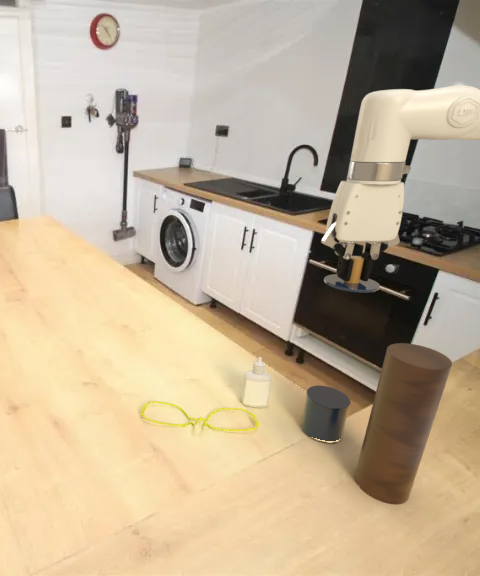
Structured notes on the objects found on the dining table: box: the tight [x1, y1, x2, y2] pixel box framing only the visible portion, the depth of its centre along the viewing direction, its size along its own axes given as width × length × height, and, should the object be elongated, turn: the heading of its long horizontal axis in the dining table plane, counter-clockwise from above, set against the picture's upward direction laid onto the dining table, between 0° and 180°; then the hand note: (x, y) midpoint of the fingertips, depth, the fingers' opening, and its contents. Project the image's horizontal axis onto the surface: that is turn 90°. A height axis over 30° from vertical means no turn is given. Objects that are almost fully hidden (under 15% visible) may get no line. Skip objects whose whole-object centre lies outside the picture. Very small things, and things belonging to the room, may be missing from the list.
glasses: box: [139, 400, 260, 432], centre depth 88 cm, size 25×10×5 cm, turn 80°
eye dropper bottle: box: [240, 356, 272, 409], centre depth 92 cm, size 4×6×12 cm
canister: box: [300, 385, 351, 441], centre depth 84 cm, size 8×8×8 cm
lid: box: [323, 255, 381, 294], centre depth 73 cm, size 9×9×5 cm
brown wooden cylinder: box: [354, 342, 453, 505], centre depth 67 cm, size 8×8×26 cm
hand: (352, 278), depth 73 cm, fingers closed on lid, 2 cm apart
